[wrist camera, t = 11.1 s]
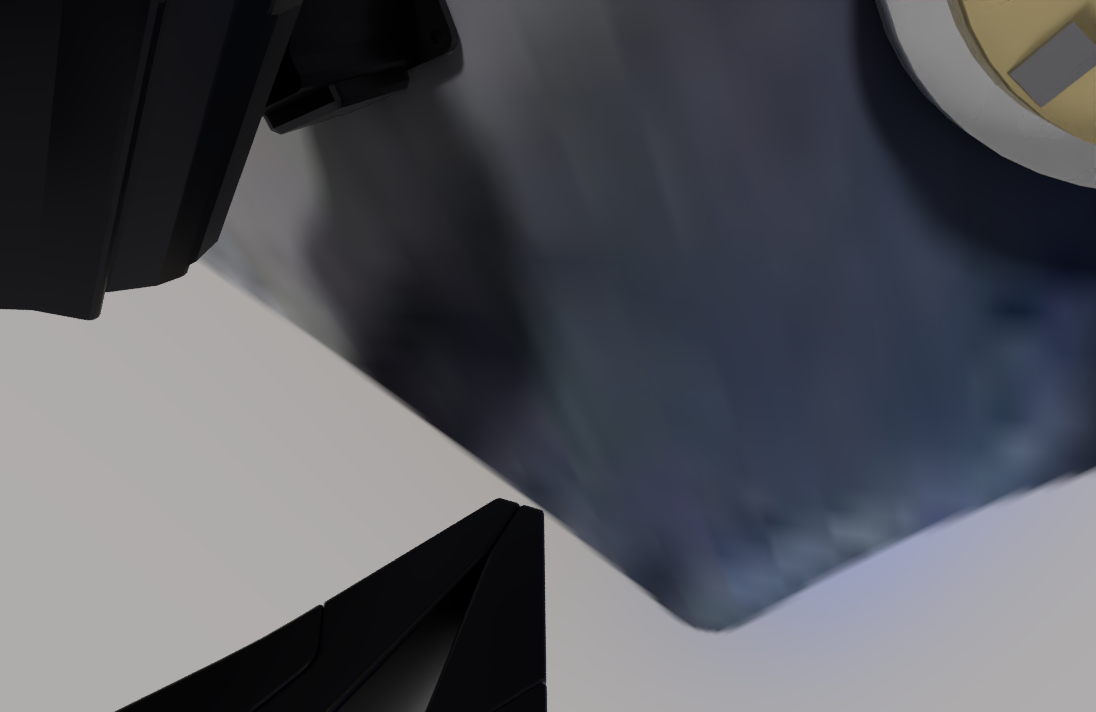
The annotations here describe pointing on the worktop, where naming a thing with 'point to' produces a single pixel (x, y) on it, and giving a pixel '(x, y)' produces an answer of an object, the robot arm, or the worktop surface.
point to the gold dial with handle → (1037, 55)
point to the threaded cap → (978, 93)
